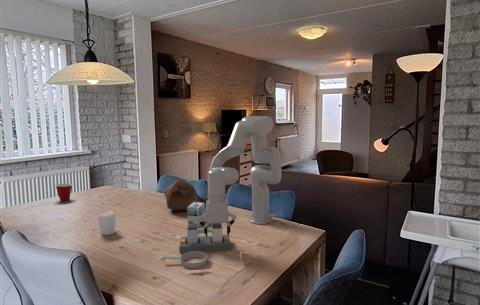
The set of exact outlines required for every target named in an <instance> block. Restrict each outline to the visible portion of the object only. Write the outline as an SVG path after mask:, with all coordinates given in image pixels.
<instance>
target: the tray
mask: <svg viewBox="0 0 480 305" xmlns="http://www.w3.org/2000/svg"><path fill="white" fill-rule="evenodd" d="M200 232H201V233H204V227H200V228H199V227H198V233H200ZM207 232H212V227H207ZM208 236H212V234H211V235H208Z"/></svg>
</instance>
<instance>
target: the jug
mask: <svg viewBox="0 0 480 305" xmlns="http://www.w3.org/2000/svg"><path fill="white" fill-rule="evenodd" d="M197 192H198V191H197V190H196V188H195V187H194V185H192V184H191V183H190V182H188V181H186V180H184V179H176V180H175V181H174V182H173V183H171V184H170V185H169V186H168V187H166V188H165V189H164V191H163V194H164V197H165V201H166V206H167V208H168V209H170V210H172V211H178V212H179V211H180V212H181V211H182V212H184V211H187V207H188V206H190V205H191V204H192V203H193V202H200V203H205V209H206V202H207V200H208V198H204V197H201V196H200V195H198V193H197Z"/></svg>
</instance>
